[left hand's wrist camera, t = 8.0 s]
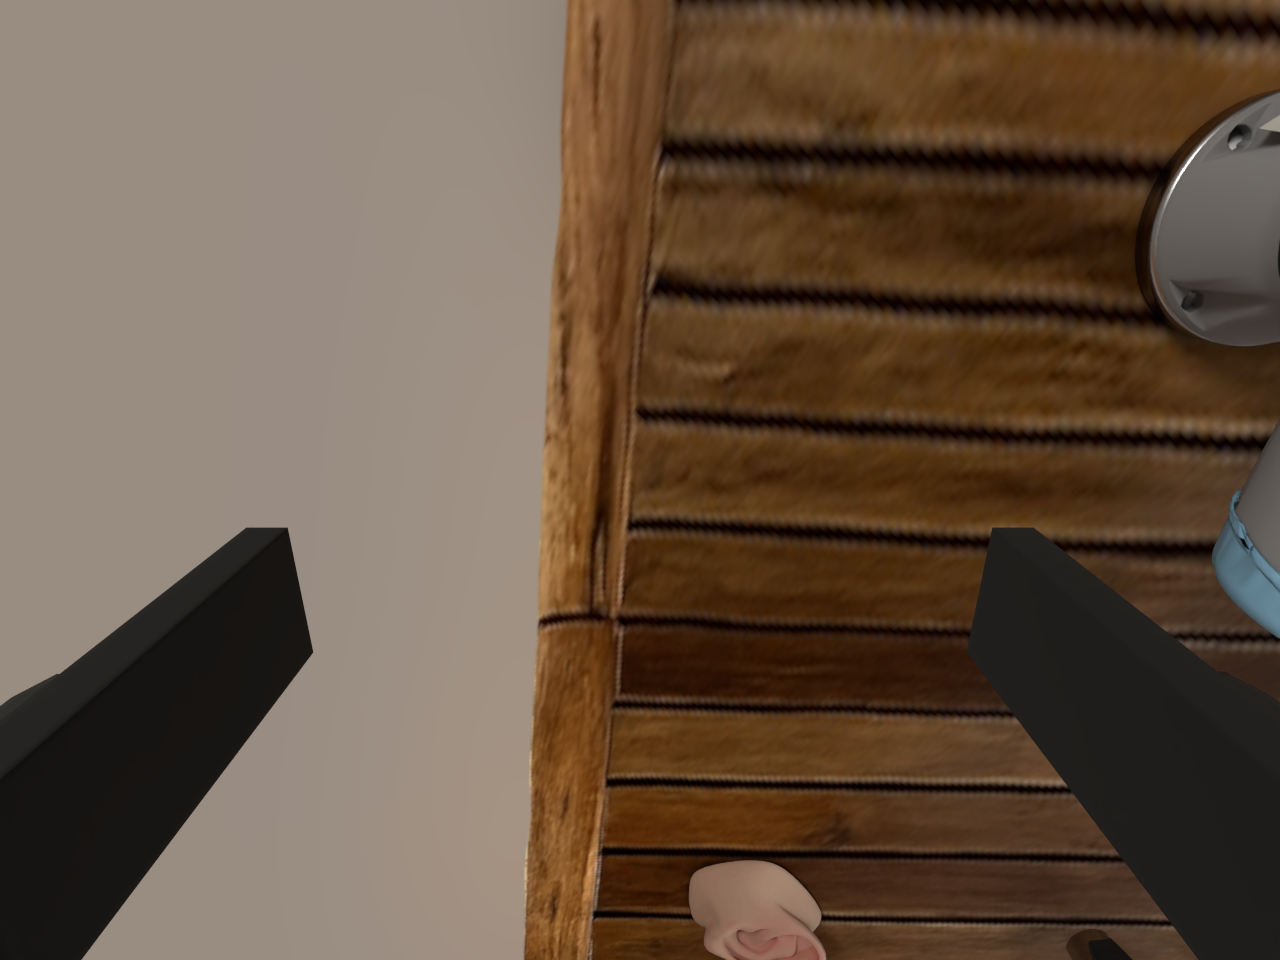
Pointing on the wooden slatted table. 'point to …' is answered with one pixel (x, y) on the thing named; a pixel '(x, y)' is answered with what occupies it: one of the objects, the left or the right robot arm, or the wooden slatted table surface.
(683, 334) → the wooden slatted table surface
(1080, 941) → the tin
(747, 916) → the anatomical model
